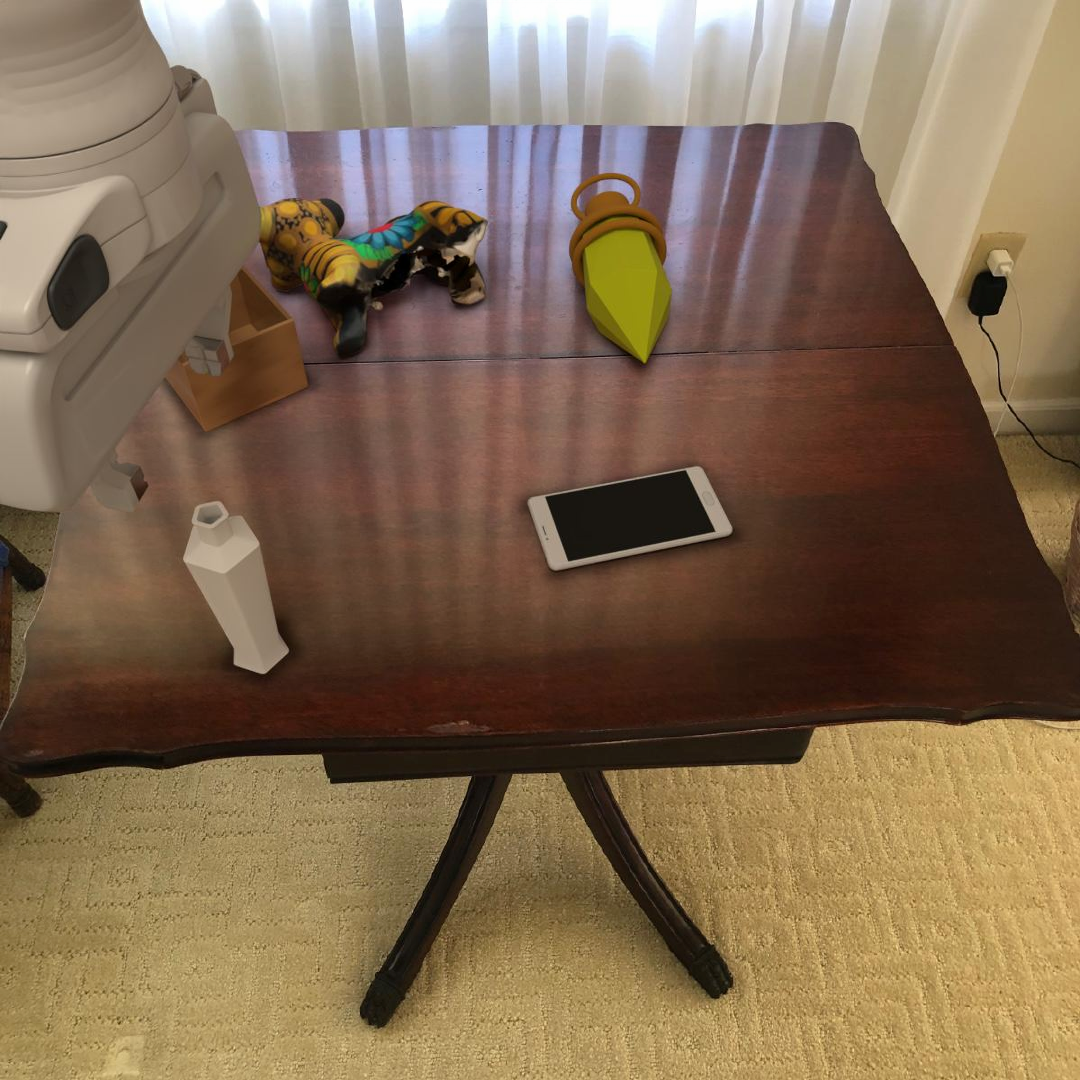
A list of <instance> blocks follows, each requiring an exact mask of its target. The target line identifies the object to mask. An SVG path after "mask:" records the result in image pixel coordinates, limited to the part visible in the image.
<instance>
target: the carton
mask: <svg viewBox="0 0 1080 1080" xmlns="http://www.w3.org/2000/svg"><path fill="white" fill-rule="evenodd" d="M230 288H231V291H232V300H231V312H230V324H229V332H228V336H229V339H230V343H231V347H232V350H233V354H234V355H233V358H232V360H231V361H230V363H229V364H228V366H227V367H226V369H225V370H224V371H223V373H222V374H221V375H220V376H218V377H216V376H211V375H210V374H209V373H208V374H199V373H197V372H195V371H193V370H192V368H191V367H190V365H189V357H187V356H186V353H185V350H184V351H183V352H182V354H181V355H180V356H181V357H182V359H181V360H177V361H176V362H175V364H174V365H173V367H172V368H171V370H170V371H169V372H168V374H167V375H166V377H165V378H164V379H166V381H167V382H168V384H169V385H170V387H171V388H172V389H173V390H174V391H175V393H176V395H178V397H179V399H181V401H182V402H183V403H184V405H185V406H186V407H187V409H188V410H189V411H190V413H191V415H192V416H193V417H194V418H195V419H196V421H197V422H198V423H199V425H200V426H201V428H202V429H203V430H204V431H205V432H206V433H208V432H210V431H212V430H214V429H216V428H218V427H221V426H223V425H226V424H228V423H230V422H233V421H234V420H237V419H239V418H241V417H243V416H246V415H249V414H250V413H252V412H255V411H257V410H260V409H262V408H264V407H266V406H268V405H270V404H272V403H273V404H274V403H275V402H278V401H279V400H282V399H284V398H286V397H289V396H291V395H293V394H296V393H299V392H300V391H302V390H305V389H306V388H309V382H308V378H307V372H306V368H305V364H304V359H303V354H302V350H301V346H300V341H299V337H298V332H297V326H296V323H295V319H293V317H292V316H291V315H290V313H288V312H287V311H286V309H285V308H283V306H282V305H281V304H280V303H279V302H278V301H277V300H276V298H275V297H273V296H272V294H271V293H270V292H269V291H268V290H267V289H266V288H265V287H264V286H263V284H261V282H260V281H259V280H258V279H257V278H256V277H255V276H254V275H253V274H252V272H250V270H249V269H248V268H247V267H246V266H245V264H244V265H243V267H242V268H241V269H240V271H239V272H238V274H237V275H236V277H235V278H234V279H233V281H232V282H231V284H230Z"/></svg>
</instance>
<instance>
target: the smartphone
mask: <svg viewBox="0 0 1080 1080" xmlns="http://www.w3.org/2000/svg"><path fill="white" fill-rule="evenodd" d="M527 506H528V510H529V513H530V515H531V518H532V522H533V524H534V528H535V530H536V534H537V536H538V538H539V542H540V544H541V549H542V550H543V553H544V556H545V559H546V562H547V565H548V567H549V568H550V569H551V570H552V571H557V572H558V571H562V570H568V569H573V568H578V567H584V566H588V565H592V564H596V563H602V562H603V563H604V562H608V561H612V560H617V559H623V558H627V557H632V556H637V555H642V554H648V553H651V552H657V551H661V550H666V549H667V550H668V549H672V548H676V547H681V546H685V545H686V546H687V545H692V544H697V543H700V542H707V541H711V540H715V539H721V538H726V537H729V536H730V535H731V534H732V533H733V526H732V524H731V522H730V521H729V518H728V516H727V514H726V513H725V510H724V507H723V506H722V504H721V502H720V500H719V498H718V496H717V494H716V492H715V491H714V488H713V486H712V484H711V482H710V480H709V478H708V476H707V474H706V472H705V470H704V469H703V468H702V467H701V466H698V465H696V466H691V467H684V468H679V469H675V470H669V471H664V472H659V473H658V472H657V473H653V474H647V475H642V476H637V477H631V478H627V479H620V480H616V481H610V482H606V483H600V484H595V485H589V486H584V487H578V488H574V489H569V490H568V489H567V490H563V491H558V492H552V493H547V494H542V495H537V496H531V497H530V498H528V500H527Z"/></svg>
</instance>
